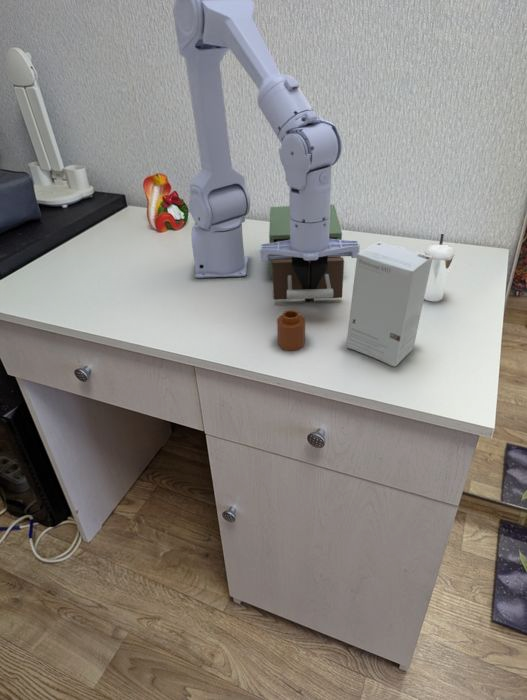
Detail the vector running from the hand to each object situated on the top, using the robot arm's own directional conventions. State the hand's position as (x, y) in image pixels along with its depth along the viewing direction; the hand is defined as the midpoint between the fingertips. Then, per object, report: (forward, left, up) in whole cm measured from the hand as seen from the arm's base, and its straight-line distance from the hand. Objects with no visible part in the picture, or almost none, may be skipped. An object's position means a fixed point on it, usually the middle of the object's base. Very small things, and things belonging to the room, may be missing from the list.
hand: (309, 299), depth 78 cm
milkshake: (+21, +5, -3) cm, 22 cm away
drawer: (0, +7, -2) cm, 7 cm away
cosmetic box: (+10, -10, -3) cm, 14 cm away
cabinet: (0, +20, -3) cm, 20 cm away
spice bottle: (-3, -8, -3) cm, 9 cm away
